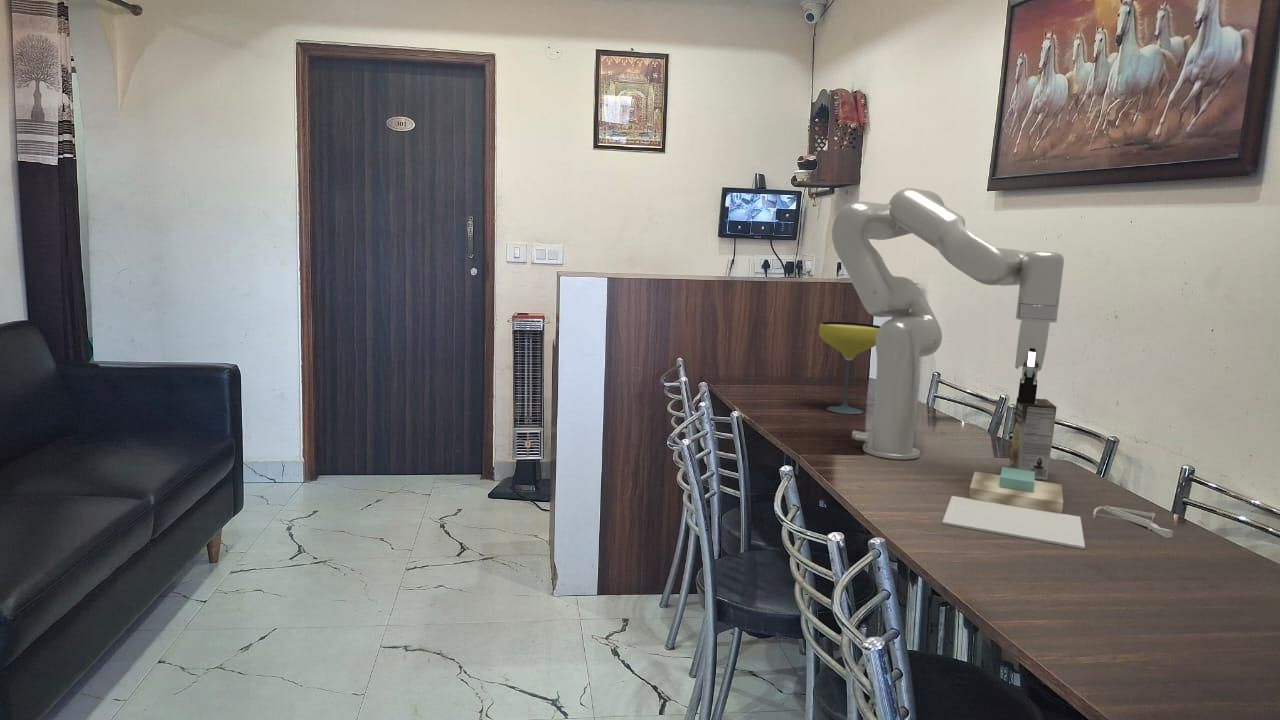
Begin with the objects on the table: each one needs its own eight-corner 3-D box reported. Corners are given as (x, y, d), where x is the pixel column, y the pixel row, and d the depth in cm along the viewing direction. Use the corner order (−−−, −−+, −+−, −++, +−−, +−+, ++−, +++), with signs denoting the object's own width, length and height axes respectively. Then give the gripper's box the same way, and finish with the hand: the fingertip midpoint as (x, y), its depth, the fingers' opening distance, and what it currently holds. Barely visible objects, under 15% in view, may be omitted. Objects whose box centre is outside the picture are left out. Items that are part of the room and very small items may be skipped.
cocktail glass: (837, 418, 234) (845, 328, 230) (800, 405, 250) (806, 321, 247) (890, 416, 241) (898, 329, 237) (850, 404, 257) (857, 321, 254)
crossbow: (1073, 514, 161) (1074, 504, 161) (1132, 514, 163) (1132, 503, 163) (1137, 539, 145) (1138, 527, 145) (1201, 538, 147) (1202, 526, 147)
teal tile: (999, 487, 163) (1000, 477, 163) (1001, 476, 171) (1002, 466, 171) (1033, 492, 161) (1034, 482, 160) (1033, 481, 169) (1034, 471, 168)
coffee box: (1007, 466, 190) (1015, 396, 188) (1038, 469, 189) (1046, 398, 186) (1016, 477, 181) (1025, 403, 179) (1049, 480, 180) (1058, 406, 177)
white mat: (942, 523, 147) (942, 521, 147) (951, 497, 163) (951, 495, 163) (1084, 549, 138) (1085, 546, 138) (1079, 518, 154) (1080, 516, 154)
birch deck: (968, 500, 162) (969, 487, 162) (973, 483, 175) (974, 471, 174) (1061, 515, 155) (1063, 502, 155) (1059, 496, 168) (1061, 484, 168)
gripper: (1017, 309, 180) (1007, 392, 183) (1015, 314, 165) (1004, 405, 167) (1056, 312, 177) (1046, 397, 180) (1058, 317, 161) (1047, 410, 164)
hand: (1026, 400), depth 173 cm, fingers open, 6 cm apart
